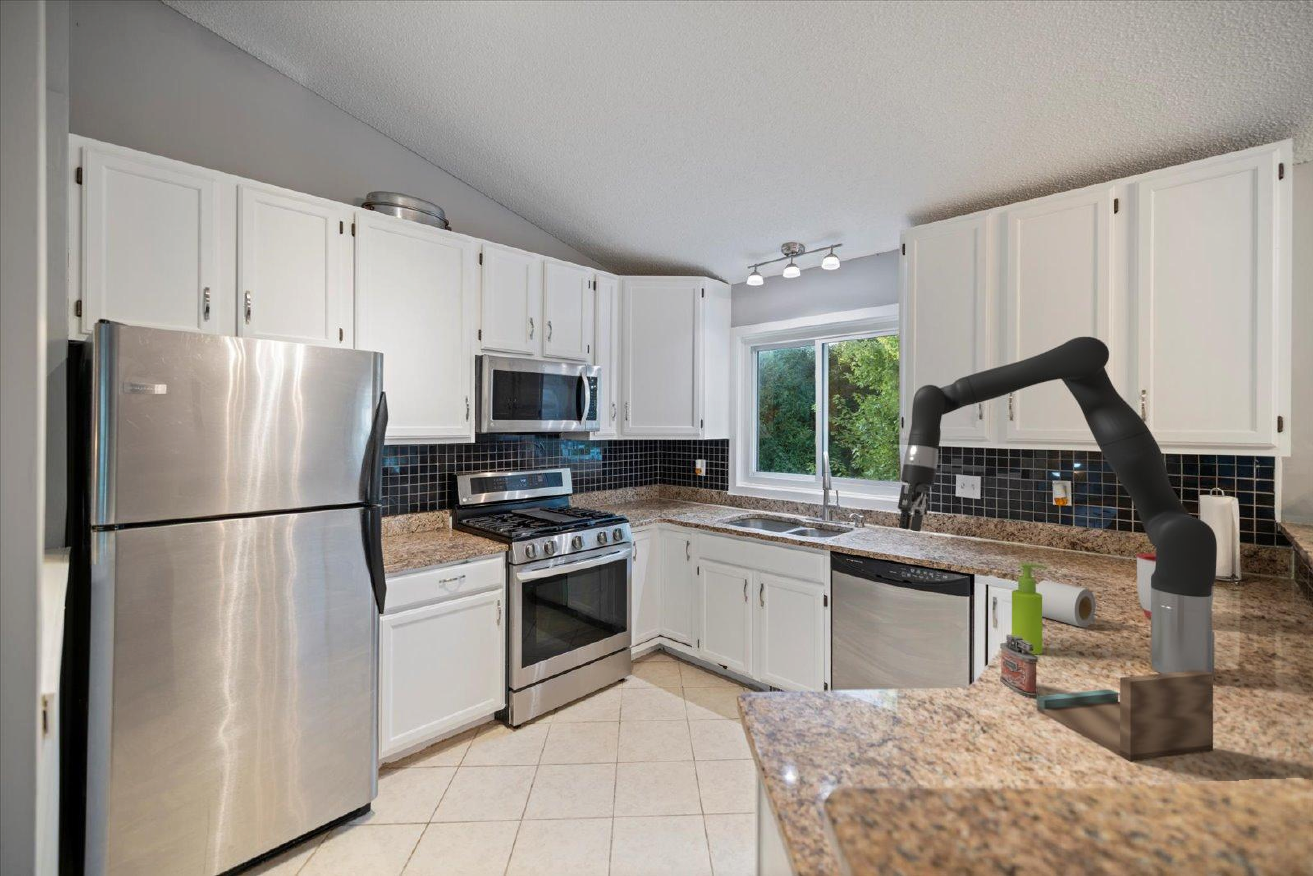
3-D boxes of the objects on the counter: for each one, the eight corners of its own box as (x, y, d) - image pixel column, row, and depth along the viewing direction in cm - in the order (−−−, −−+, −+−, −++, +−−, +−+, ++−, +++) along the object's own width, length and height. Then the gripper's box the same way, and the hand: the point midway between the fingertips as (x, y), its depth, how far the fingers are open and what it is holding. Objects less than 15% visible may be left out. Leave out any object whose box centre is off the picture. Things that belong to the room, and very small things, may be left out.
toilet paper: (1095, 624, 146) (1095, 587, 146) (1074, 630, 141) (1074, 591, 141) (1054, 614, 155) (1054, 578, 155) (1033, 618, 150) (1033, 582, 150)
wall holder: (1109, 702, 101) (1109, 637, 101) (1213, 750, 86) (1213, 673, 86) (1036, 710, 98) (1037, 643, 98) (1130, 761, 82) (1130, 681, 82)
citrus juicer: (1153, 628, 143) (1153, 551, 143) (1125, 609, 159) (1125, 540, 159) (1232, 636, 137) (1232, 556, 137) (1195, 616, 153) (1195, 544, 154)
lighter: (995, 680, 111) (995, 630, 111) (1011, 679, 111) (1011, 630, 111) (1025, 699, 103) (1025, 645, 103) (1042, 698, 103) (1042, 645, 103)
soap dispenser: (1052, 656, 124) (1052, 567, 124) (1018, 653, 125) (1018, 565, 125) (1039, 646, 129) (1039, 561, 129) (1007, 644, 131) (1007, 560, 131)
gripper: (927, 463, 129) (916, 531, 127) (944, 471, 139) (934, 534, 138) (894, 459, 134) (883, 525, 133) (913, 467, 144) (903, 528, 143)
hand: (909, 530), depth 135 cm, fingers open, 8 cm apart
